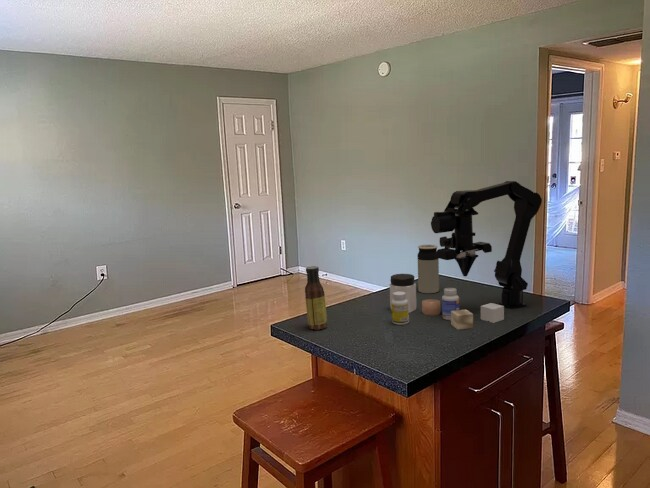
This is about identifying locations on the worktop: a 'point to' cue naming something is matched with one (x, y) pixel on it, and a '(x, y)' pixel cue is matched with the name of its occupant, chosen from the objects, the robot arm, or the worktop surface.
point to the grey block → (492, 312)
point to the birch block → (462, 319)
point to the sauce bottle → (315, 300)
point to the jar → (404, 289)
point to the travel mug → (428, 269)
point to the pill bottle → (449, 302)
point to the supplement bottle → (400, 308)
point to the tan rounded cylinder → (431, 307)
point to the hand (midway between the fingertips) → (465, 276)
